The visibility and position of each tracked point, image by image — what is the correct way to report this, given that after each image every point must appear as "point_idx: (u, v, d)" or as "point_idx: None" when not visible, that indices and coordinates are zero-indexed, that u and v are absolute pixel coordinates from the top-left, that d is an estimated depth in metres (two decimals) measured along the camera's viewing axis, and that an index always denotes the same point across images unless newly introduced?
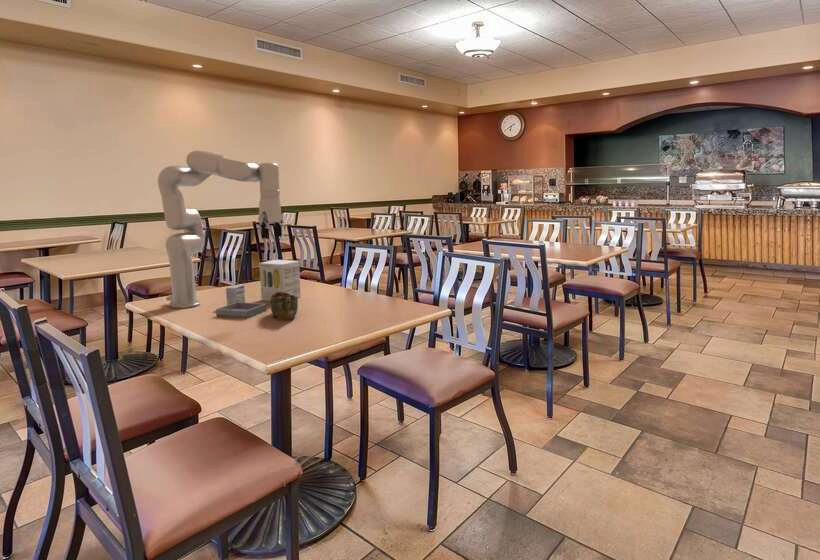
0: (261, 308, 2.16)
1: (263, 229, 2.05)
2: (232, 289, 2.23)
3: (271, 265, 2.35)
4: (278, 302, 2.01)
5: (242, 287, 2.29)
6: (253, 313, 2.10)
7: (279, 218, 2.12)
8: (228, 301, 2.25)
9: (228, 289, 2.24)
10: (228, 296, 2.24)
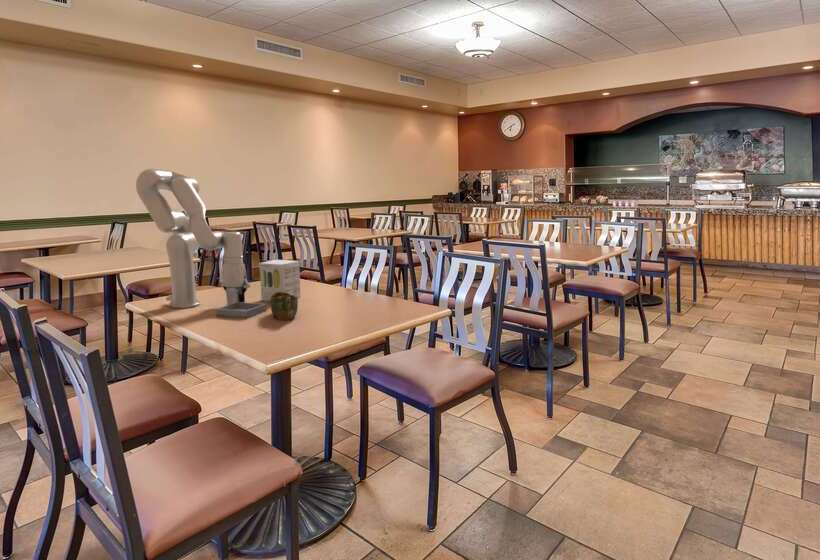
0: (261, 308, 2.16)
1: (242, 294, 2.27)
2: (232, 289, 2.23)
3: (271, 265, 2.35)
4: (278, 302, 2.01)
5: None
6: (253, 313, 2.10)
7: None
8: (228, 301, 2.25)
9: (228, 289, 2.24)
10: (228, 296, 2.24)
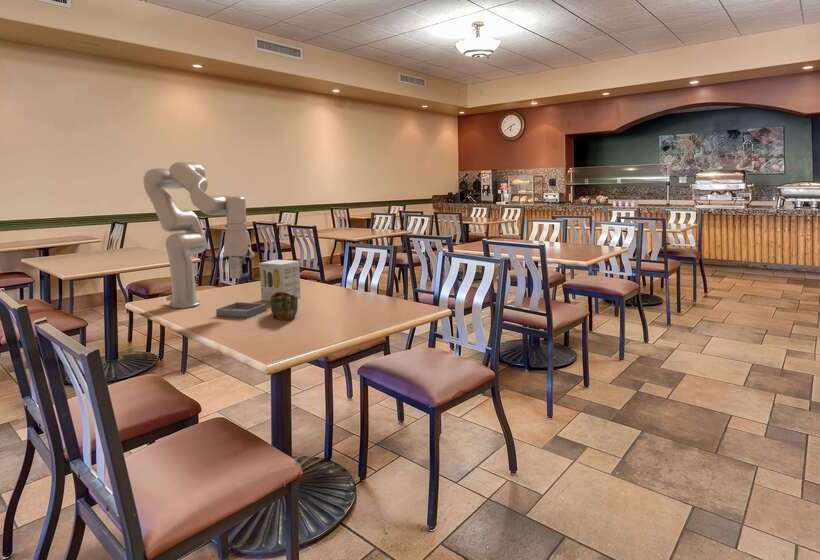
0: (261, 308, 2.16)
1: (246, 264, 2.10)
2: (236, 258, 2.07)
3: (271, 265, 2.35)
4: (278, 302, 2.01)
5: None
6: (253, 313, 2.10)
7: None
8: (231, 271, 2.08)
9: (231, 258, 2.07)
10: (231, 266, 2.07)
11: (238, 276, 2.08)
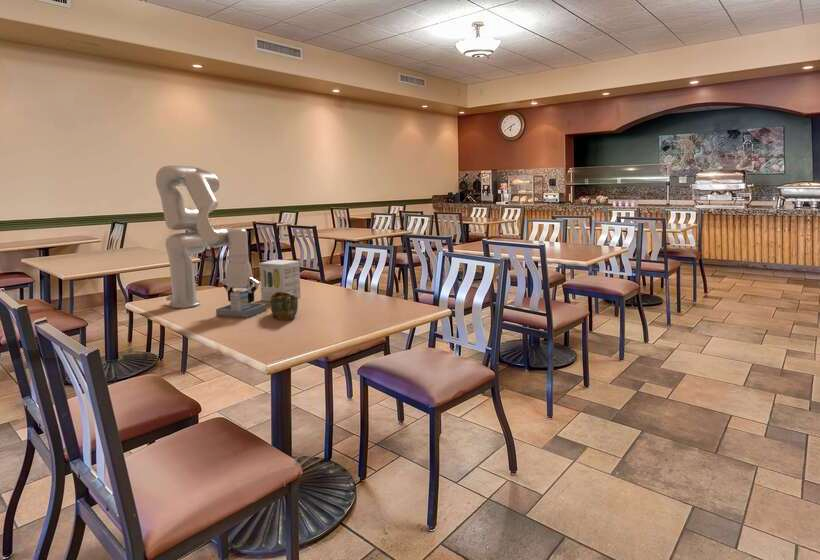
0: (261, 308, 2.16)
1: (252, 293, 2.11)
2: (236, 294, 2.09)
3: (271, 265, 2.35)
4: (278, 302, 2.01)
5: (247, 292, 2.15)
6: (253, 313, 2.10)
7: None
8: (232, 306, 2.10)
9: (232, 293, 2.10)
10: (232, 301, 2.10)
11: None
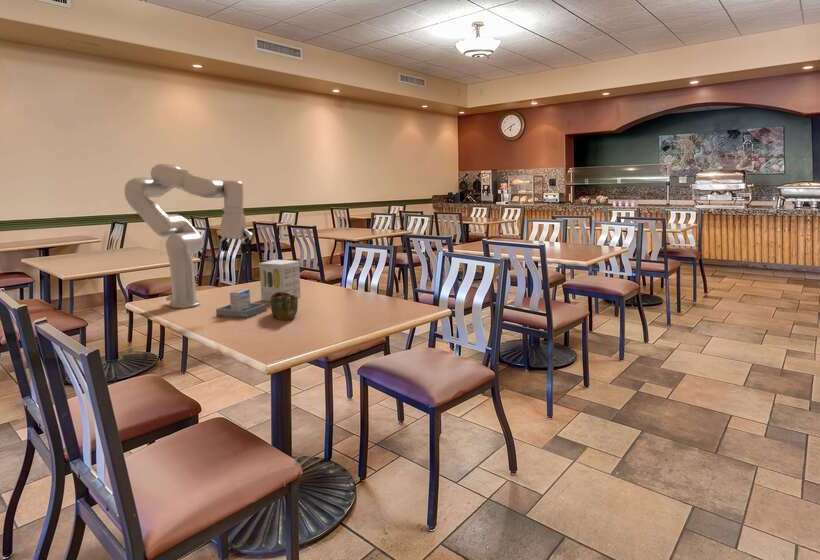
0: (261, 308, 2.16)
1: (246, 244, 2.17)
2: (236, 294, 2.09)
3: (271, 265, 2.35)
4: (278, 302, 2.01)
5: (247, 292, 2.15)
6: (253, 313, 2.10)
7: None
8: (232, 306, 2.10)
9: (232, 293, 2.10)
10: (232, 301, 2.10)
11: None
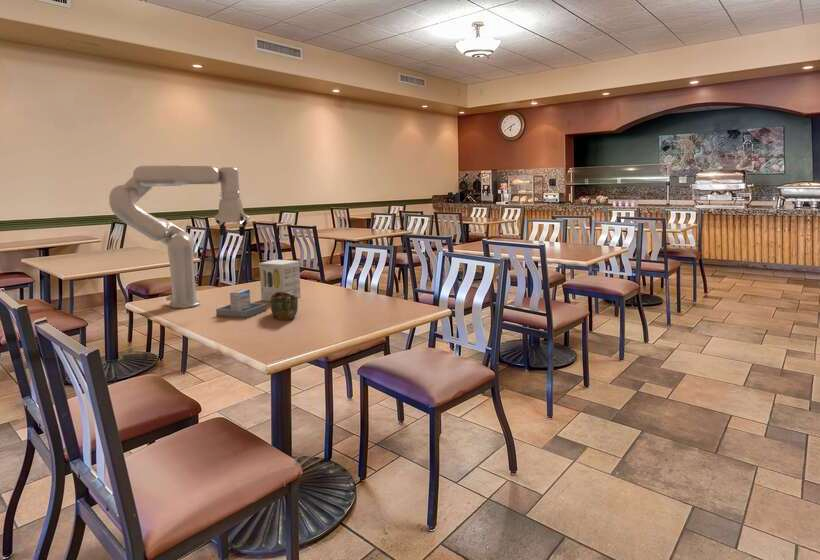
0: (261, 308, 2.16)
1: (243, 227, 2.28)
2: (236, 294, 2.09)
3: (271, 265, 2.35)
4: (278, 302, 2.01)
5: (247, 292, 2.15)
6: (253, 313, 2.10)
7: None
8: (232, 306, 2.10)
9: (232, 293, 2.10)
10: (232, 301, 2.10)
11: None
